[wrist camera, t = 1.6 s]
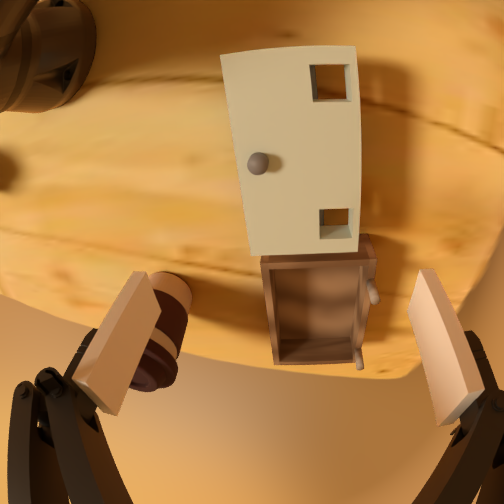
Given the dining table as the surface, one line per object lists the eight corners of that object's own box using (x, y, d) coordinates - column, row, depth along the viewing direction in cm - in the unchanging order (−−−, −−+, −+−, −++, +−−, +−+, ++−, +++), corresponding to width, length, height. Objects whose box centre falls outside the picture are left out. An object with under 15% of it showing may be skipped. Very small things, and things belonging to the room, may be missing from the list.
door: (226, 56, 20) (216, 54, 18) (349, 48, 19) (358, 44, 16) (254, 241, 30) (249, 262, 27) (353, 237, 29) (359, 258, 26)
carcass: (264, 237, 35) (257, 282, 28) (368, 233, 33) (384, 277, 26) (276, 338, 45) (272, 382, 38) (355, 335, 42) (360, 379, 36)
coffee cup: (204, 271, 39) (168, 366, 26) (200, 321, 44) (173, 407, 32) (135, 255, 39) (81, 338, 26) (140, 305, 44) (101, 383, 32)
